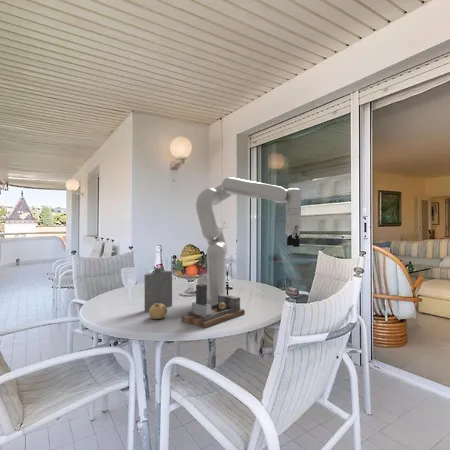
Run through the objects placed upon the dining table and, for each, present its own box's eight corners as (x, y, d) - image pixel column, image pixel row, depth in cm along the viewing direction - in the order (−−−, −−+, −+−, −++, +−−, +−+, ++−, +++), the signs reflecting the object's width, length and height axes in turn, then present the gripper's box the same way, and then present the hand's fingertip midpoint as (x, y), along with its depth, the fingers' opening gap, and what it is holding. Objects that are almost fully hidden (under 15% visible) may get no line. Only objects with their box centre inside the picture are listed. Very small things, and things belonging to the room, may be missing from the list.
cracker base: (181, 320, 137) (181, 303, 137) (221, 308, 157) (221, 293, 157) (204, 328, 128) (204, 309, 128) (244, 313, 148) (244, 297, 148)
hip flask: (147, 312, 150) (147, 269, 150) (142, 310, 153) (142, 269, 153) (173, 305, 162) (173, 266, 162) (168, 304, 165) (168, 265, 165)
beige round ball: (216, 310, 146) (216, 302, 146) (222, 308, 149) (222, 301, 149) (222, 311, 144) (222, 303, 144) (228, 310, 147) (228, 302, 147)
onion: (147, 316, 143) (147, 301, 143) (164, 314, 147) (164, 299, 147) (150, 322, 136) (150, 305, 136) (169, 319, 139) (169, 303, 139)
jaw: (191, 313, 138) (191, 284, 138) (196, 311, 140) (196, 283, 140) (206, 317, 132) (206, 286, 132) (211, 315, 135) (211, 285, 135)
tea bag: (203, 292, 193) (203, 275, 193) (197, 290, 198) (197, 274, 198) (208, 291, 195) (208, 275, 195) (202, 289, 200) (202, 273, 200)
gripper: (281, 213, 172) (281, 244, 172) (291, 212, 155) (291, 247, 155) (295, 213, 173) (294, 244, 173) (306, 212, 156) (306, 247, 156)
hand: (293, 246), depth 164 cm, fingers open, 9 cm apart
